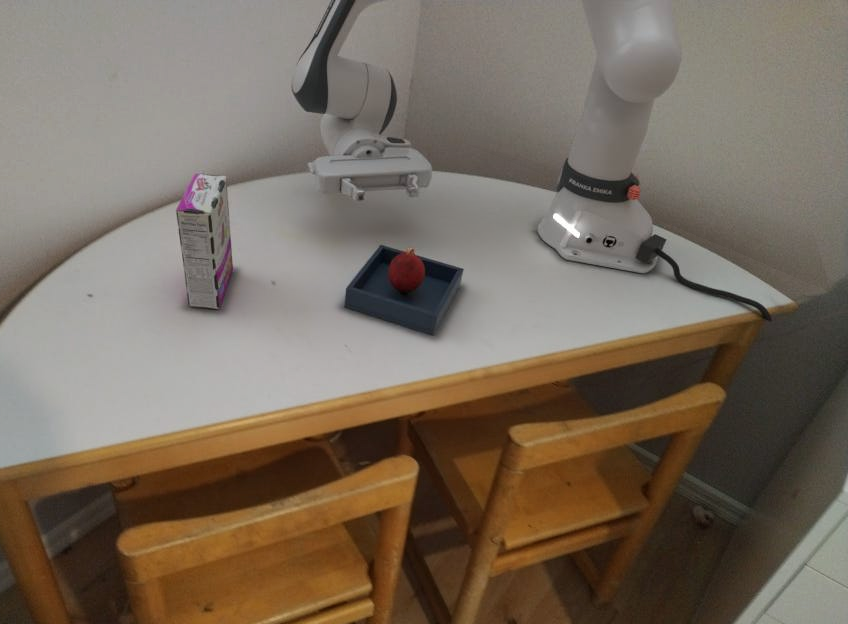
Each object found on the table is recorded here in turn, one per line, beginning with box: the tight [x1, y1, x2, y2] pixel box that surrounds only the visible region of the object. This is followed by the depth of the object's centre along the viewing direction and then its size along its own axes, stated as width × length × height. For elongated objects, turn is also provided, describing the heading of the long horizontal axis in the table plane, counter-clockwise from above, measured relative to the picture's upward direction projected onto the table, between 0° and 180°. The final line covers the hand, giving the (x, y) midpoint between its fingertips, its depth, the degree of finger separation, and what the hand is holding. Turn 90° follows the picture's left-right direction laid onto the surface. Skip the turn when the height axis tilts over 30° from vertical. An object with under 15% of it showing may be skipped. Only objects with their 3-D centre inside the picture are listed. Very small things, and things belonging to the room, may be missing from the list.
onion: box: [388, 247, 425, 293], centre depth 99 cm, size 6×6×8 cm
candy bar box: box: [175, 173, 234, 310], centre depth 94 cm, size 11×5×16 cm, turn 179°
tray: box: [344, 244, 464, 336], centre depth 101 cm, size 15×15×4 cm
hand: (387, 195), depth 104 cm, fingers open, 8 cm apart
